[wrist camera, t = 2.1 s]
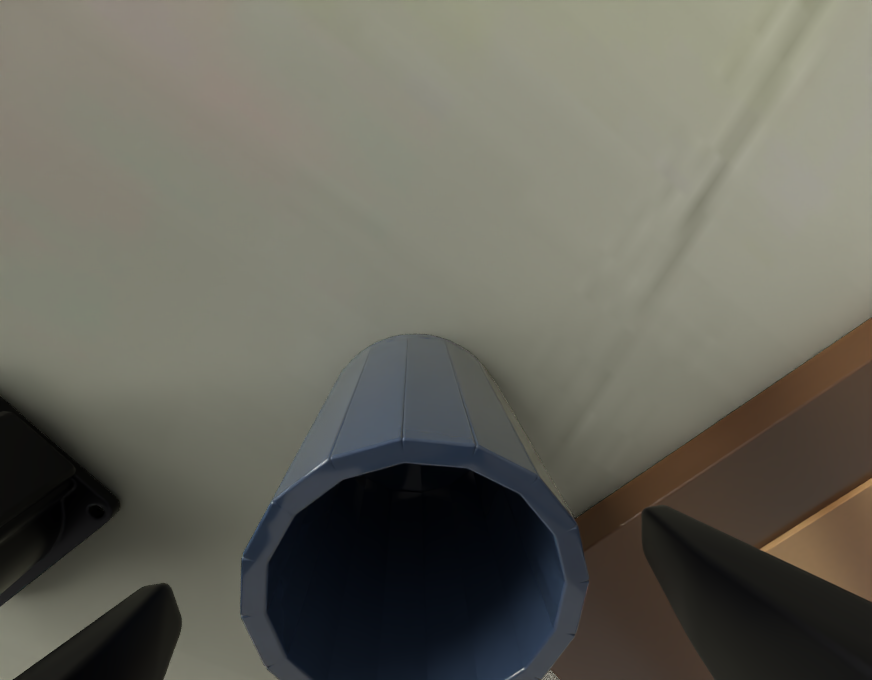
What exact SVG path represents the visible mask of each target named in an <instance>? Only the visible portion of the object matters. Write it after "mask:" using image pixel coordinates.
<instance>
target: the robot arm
mask: <svg viewBox="0 0 872 680" xmlns="http://www.w3.org/2000/svg"><path fill="white" fill-rule="evenodd" d="M97 505H98V506H100V507H102V509H103V510H104V511H103V510H101V509H99V507H98V506H97ZM119 508H120V504H119V500H118V499H117V498H116V497H115V496H114V495H113V494H112V493H111V492H110V491H109V490H107V489H106V488H105V487H104V486H103V485H102V484H100V483H99V482H98V481H97V480H96V479H95V478H94V477H92V476H91V475H90V474H89V473H88V472H87V471H86V470H84V469H83V468H82V467H81V466H80V465H79V464H78V463H76V462H75V461H74V460H73V459H72V458H71V457H70V456H68V455H67V454H66V453H65V452H64V451H63V450H62V449H60V448H59V447H58V446H57V445H56V444H55V443H53V442H52V441H51V440H50V439H49V438H48V437H47V436H45V435H44V434H43V433H42V432H41V431H40V430H39V429H37V428H36V427H35V426H34V425H33V424H32V423H31V422H29V421H28V420H27V419H26V418H25V417H24V416H23V415H21V414H20V413H19V412H18V411H17V410H16V409H15V408H13V407H12V406H11V405H10V404H9V403H8V402H6V401H5V400H4V399H3V398H2V397H1V396H0V606H2V605H3V604H4V603H5V602H7V601H8V600H9V599H11V598H12V597H13V596H14V595H16V594H17V593H18V592H19V591H21V590H22V589H23V588H24V587H26V586H27V585H28V584H30V583H31V582H32V581H33V580H35V579H36V578H37V577H38V576H40V575H41V574H42V573H43V572H45V571H46V570H47V569H49V568H50V567H51V566H52V565H54V564H55V563H56V562H57V561H59V560H60V559H61V558H62V557H64V556H65V555H66V554H68V553H69V552H70V551H71V550H73V549H74V548H75V547H76V546H78V545H79V544H80V543H82V542H83V541H84V540H85V539H87V538H88V537H89V536H90V535H92V534H93V533H94V532H95V531H97V530H98V529H99V528H101V527H102V526H103V525H104V524H106V523H107V522H108V521H109V520H110V519H111V518H112V517H113V516H115V515H116V514H117V512H118V511H119ZM641 518H642V547H643V551H644V554H645V557H646V559H647V561H648V563H649V565H650V567H651V568H652V570H653V572H654V574H655V576H656V578H657V580H658V582H659V584H660V585H661V587H662V589H663V591H664V593H665V595H666V597H667V599H668V601H669V603H670V604H671V606H672V608H673V610H674V612H675V614H676V616H677V618H678V620H679V622H680V623H681V625H682V627H683V629H684V631H685V633H686V634H687V636H688V638H689V640H690V642H691V643H692V645H693V646H694V648H695V650H696V651H697V653H698V655H699V656H700V658H701V659H702V661H703V662H704V664H705V666H706V667H707V669H708V670H709V672H710V673H711V675H712V676H713V678H714V679H715V680H872V602H871V601H869V600H866V599H864V598H862V597H860V596H858V595H856V594H854V593H852V592H849V591H847V590H845V589H843V588H841V587H839V586H837V585H835V584H832V583H830V582H828V581H826V580H824V579H822V578H820V577H817V576H815V575H813V574H811V573H809V572H807V571H805V570H803V569H800V568H798V567H796V566H794V565H792V564H790V563H788V562H786V561H783V560H781V559H779V558H777V557H775V556H773V555H771V554H769V553H766V552H764V551H762V550H760V549H758V548H756V547H754V546H752V545H749V544H747V543H745V542H743V541H741V540H739V539H737V538H734V537H732V536H730V535H728V534H726V533H724V532H722V531H720V530H717V529H715V528H713V527H711V526H709V525H707V524H705V523H703V522H700V521H698V520H696V519H694V518H692V517H690V516H688V515H686V514H683V513H681V512H679V511H677V510H675V509H673V508H671V507H668V506H666V505H658V506H652V507H646V508H644V509H643V511H642V516H641ZM181 627H182V618H181V614H180V611H179V608H178V605H177V603H176V600H175V597H174V594H173V591H172V589H171V587H170V586H169V585H168V584H166V583H160V584H154V585H148V586H144V587H142V588H140V589H139V590H137V591H136V592H134V593H133V594H132V595H130V596H129V597H127V598H126V599H125V600H123V601H122V602H120V603H119V604H118V605H116V606H115V607H113V608H112V609H111V610H109V611H108V612H107V613H105V614H104V615H102V616H101V617H100V618H98V619H97V620H95V621H94V622H93V623H91V624H90V625H88V626H87V627H86V628H84V629H83V630H81V631H80V632H79V633H77V634H76V635H75V636H73V637H72V638H70V639H69V640H68V641H66V642H65V643H63V644H62V645H61V646H59V647H58V648H56V649H55V650H54V651H52V652H51V653H49V654H48V655H47V656H45V657H44V658H42V659H41V660H40V661H38V662H37V663H36V664H34V665H33V666H31V667H30V668H29V669H27V670H26V671H24V672H23V673H22V674H20V675H19V676H17V677H16V678H15V679H13V680H163V679H164V676H165V674H166V671H167V668H168V665H169V663H170V660H171V657H172V654H173V652H174V649H175V646H176V643H177V641H178V638H179V635H180V632H181Z"/></svg>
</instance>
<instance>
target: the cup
mask: <svg viewBox="0 0 872 680" xmlns="http://www.w3.org/2000/svg"><path fill="white" fill-rule="evenodd" d="M588 586H589V572H588V568H587V563H586V559H585V554H584V549H583V545H582V540H581V536H580V531H579V526H578V524H577V522H576V520H575V518H574V516H573V515H572V513H571V511H570V510H569V508H568V506H567V504H566V503H565V501H564V499H563V497H562V496H561V494H560V492H559V491H558V489H557V487H556V485H555V484H554V482H553V480H552V478H551V477H550V475H549V473H548V472H547V470H546V468H545V466H544V465H543V463H542V461H541V459H540V458H539V456H538V454H537V453H536V451H535V449H534V447H533V446H532V444H531V442H530V440H529V439H528V437H527V435H526V433H525V432H524V430H523V428H522V427H521V425H520V423H519V421H518V420H517V418H516V416H515V414H514V413H513V411H512V409H511V408H510V406H509V404H508V402H507V401H506V399H505V397H504V395H503V394H502V392H501V390H500V389H499V387H498V385H497V383H496V382H495V381H494V380H493V378H492V377H491V376H490V374H489V373H488V371H487V370H486V368H485V367H484V365H483V364H482V363H481V362H480V361H479V360H478V359H477V358H476V357H475V356H474V355H473V354H471V353H470V352H469V351H468V350H466V349H465V348H463V347H462V346H460V345H458V344H456V343H454V342H452V341H450V340H447V339H444V338H441V337H438V336H432V335H427V334H405V335H398V336H394V337H390V338H387V339H384V340H381V341H379V342H377V343H375V344H373V345H371V346H369V347H367V348H366V349H364V350H363V351H361V352H360V353H359V354H358V355H357V356H355V357H354V358H353V359H352V360H351V361H350V362H349V363H348V365H347V366H346V367H345V368H344V369H343V370H342V372H341V373H340V375H339V377H338V379H337V381H336V383H335V384H334V386H333V388H332V390H331V392H330V394H329V395H328V397H327V399H326V401H325V403H324V405H323V406H322V408H321V410H320V412H319V414H318V416H317V417H316V419H315V421H314V423H313V425H312V427H311V429H310V430H309V432H308V434H307V436H306V438H305V440H304V441H303V443H302V445H301V447H300V449H299V451H298V452H297V454H296V456H295V458H294V460H293V462H292V463H291V465H290V467H289V469H288V471H287V473H286V475H285V476H284V478H283V480H282V482H281V484H280V486H279V487H278V489H277V491H276V493H275V495H274V497H273V498H272V500H271V502H270V504H269V506H268V508H267V509H266V511H265V513H264V515H263V517H262V519H261V521H260V522H259V524H258V526H257V528H256V530H255V532H254V533H253V535H252V537H251V539H250V541H249V543H248V544H247V546H246V548H245V550H244V552H243V556H242V558H241V597H240V614H241V619H242V621H243V623H244V625H245V627H246V629H247V632H248V634H249V636H250V638H251V640H252V642H253V644H254V646H255V648H256V650H257V652H258V654H259V656H260V658H261V660H262V663H263V665H264V666H265V667H266V668H267V670H268V671H269V672H271V673H272V674H273V675H274V676H275V677H276V678H278V679H279V680H541V679H543V678H544V676H545V675H546V674H547V672H548V671H549V670H550V669H551V667H552V666H553V665H554V663H555V662H556V661H557V659H558V658H559V657H560V656H561V654H562V653H563V652H564V650H565V649H566V648H567V647H568V645H569V644H570V643H571V641H572V640H573V639H574V637H575V634H576V633H577V630H578V626H579V622H580V618H581V614H582V610H583V606H584V602H585V598H586V594H587V590H588Z"/></svg>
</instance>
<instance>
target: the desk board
mask: <svg viewBox="0 0 872 680" xmlns="http://www.w3.org/2000/svg"><path fill="white" fill-rule="evenodd" d="M658 505H666V506H668V507H671V508H673V509H675V510H677V511H679V512H681V513H683V514H686V515H688V516H690V517H692V518H694V519H696V520H698V521H700V522H703V523H705V524H707V525H709V526H711V527H713V528H715V529H717V530H720V531H722V532H724V533H726V534H728V535H730V536H732V537H734V538H737V539H739V540H741V541H743V542H745V543H747V544H749V545H752V546H754V547H756V548H758V549H760V550H762V551H764V552H766V553H769V554H771V555H773V556H775V557H777V558H779V559H781V560H783V561H786V562H788V563H790V564H792V565H794V566H796V567H798V568H800V569H803V570H805V571H807V572H809V573H811V574H813V575H815V576H817V577H820V578H822V579H824V580H826V581H828V582H830V583H832V584H835V585H837V586H839V587H841V588H843V589H845V590H847V591H849V592H852V593H854V594H856V595H858V596H860V597H862V598H864V599H866V600H869V601H871V602H872V318H870V319H869V320H867V321H866V322H864V323H863V324H861V325H860V326H858V327H857V328H856V329H854V330H853V331H851V332H850V333H848V334H847V335H845V336H844V337H842V338H841V339H839V340H838V341H836V342H835V343H833V344H832V345H830V346H829V347H828V348H826V349H825V350H823V351H822V352H820V353H819V354H817V355H816V356H814V357H813V358H811V359H810V360H808V361H807V362H805V363H804V364H803V365H801V366H800V367H798V368H797V369H795V370H794V371H792V372H791V373H789V374H788V375H786V376H785V377H783V378H782V379H780V380H779V381H777V382H776V383H775V384H773V385H772V386H770V387H769V388H767V389H766V390H764V391H763V392H761V393H760V394H758V395H757V396H755V397H754V398H752V399H751V400H749V401H748V402H747V403H745V404H744V405H742V406H741V407H739V408H738V409H736V410H735V411H733V412H732V413H730V414H729V415H727V416H726V417H724V418H723V419H721V420H720V421H719V422H717V423H716V424H714V425H713V426H711V427H710V428H708V429H707V430H705V431H704V432H702V433H701V434H699V435H698V436H696V437H695V438H693V439H692V440H691V441H689V442H688V443H686V444H685V445H683V446H682V447H680V448H679V449H677V450H676V451H674V452H673V453H671V454H670V455H668V456H667V457H665V458H664V459H663V460H661V461H660V462H658V463H657V464H655V465H654V466H652V467H651V468H649V469H648V470H646V471H645V472H643V473H642V474H640V475H639V476H638V477H636V478H635V479H633V480H632V481H630V482H629V483H627V484H626V485H624V486H623V487H621V488H620V489H618V490H617V491H615V492H614V493H612V494H611V495H610V496H608V497H607V498H605V499H604V500H602V501H601V502H599V503H598V504H596V505H595V506H593V507H592V508H590V509H589V510H587V511H586V512H584V513H583V514H582V515H580V516H579V517H577V518H576V519H575V520H576V522H577V524H578V526H579V531H580V536H581V540H582V545H583V549H584V554H585V559H586V563H587V568H588V572H589V586H588V590H587V594H586V598H585V602H584V606H583V610H582V614H581V618H580V622H579V626H578V630H577V633H576V634H575V637H574V639H573V640H572V641H571V643H570V644H569V645H568V647H567V648H566V649H565V650H564V652H563V653H562V654H561V656H560V657H559V658H558V659H557V661H556V662H555V663H554V665H553V666H552V667H551V670H552V672H553V673H554V674H555V675H556V676H557V677H558V678H559V679H560V680H715V679H714V678H713V676H712V675H711V673H710V672H709V670H708V669H707V667H706V666H705V664H704V662H703V661H702V659H701V658H700V656H699V655H698V653H697V651H696V650H695V648H694V646H693V645H692V643H691V642H690V640H689V638H688V636H687V634H686V633H685V631H684V629H683V627H682V625H681V623H680V622H679V620H678V618H677V616H676V614H675V612H674V610H673V608H672V606H671V604H670V603H669V601H668V599H667V597H666V595H665V593H664V591H663V589H662V587H661V585H660V584H659V582H658V580H657V578H656V576H655V574H654V572H653V570H652V568H651V567H650V565H649V563H648V561H647V559H646V557H645V554H644V551H643V547H642V518H641V516H642V511H643V509H644V508H646V507H652V506H658Z"/></svg>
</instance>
